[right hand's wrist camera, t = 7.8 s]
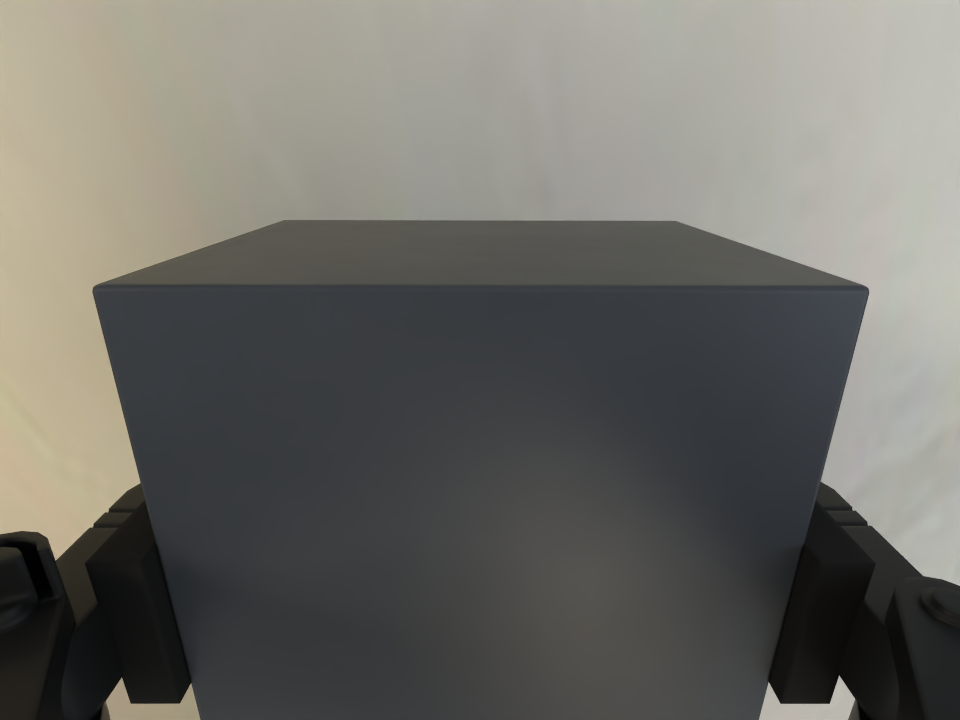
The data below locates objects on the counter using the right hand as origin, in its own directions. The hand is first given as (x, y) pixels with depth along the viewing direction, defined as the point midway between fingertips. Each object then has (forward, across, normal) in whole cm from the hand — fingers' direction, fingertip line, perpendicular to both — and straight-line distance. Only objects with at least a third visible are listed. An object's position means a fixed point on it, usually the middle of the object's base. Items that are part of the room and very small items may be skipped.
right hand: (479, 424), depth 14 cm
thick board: (0, 0, -24) cm, 24 cm away
